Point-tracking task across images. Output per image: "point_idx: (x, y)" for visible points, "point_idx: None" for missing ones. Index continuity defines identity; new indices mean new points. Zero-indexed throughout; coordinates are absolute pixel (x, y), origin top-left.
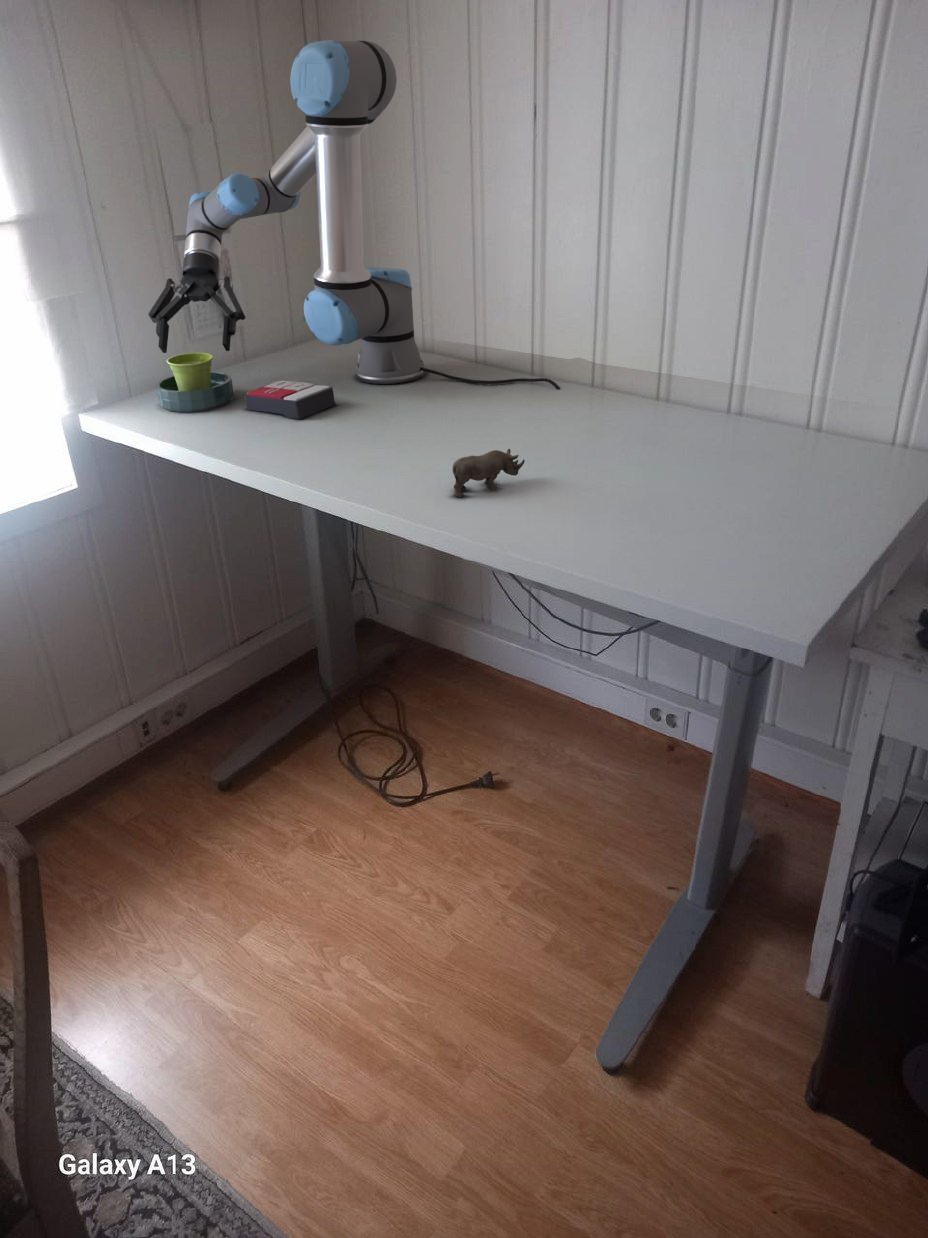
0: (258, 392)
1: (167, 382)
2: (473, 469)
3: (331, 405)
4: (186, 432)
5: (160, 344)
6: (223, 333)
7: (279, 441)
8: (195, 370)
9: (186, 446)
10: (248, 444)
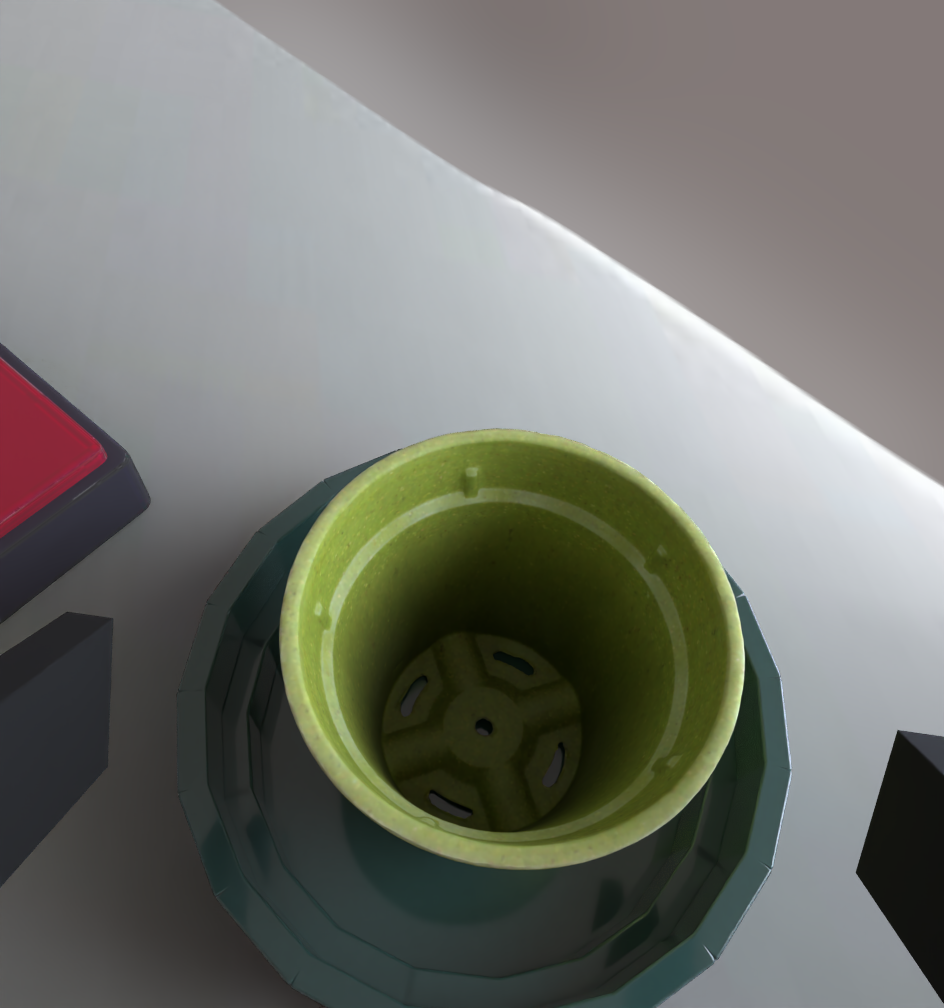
0: (28, 413)
1: (740, 823)
2: None
3: None
4: (447, 273)
5: (930, 746)
6: (14, 685)
7: (70, 127)
8: (440, 491)
9: (420, 157)
10: (190, 128)
